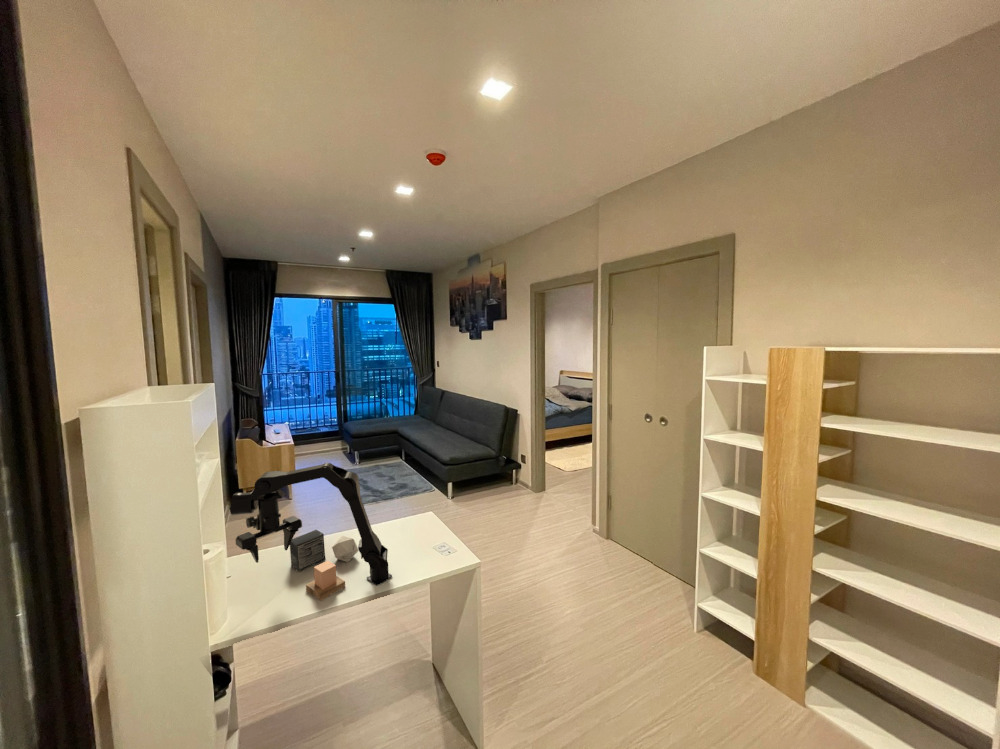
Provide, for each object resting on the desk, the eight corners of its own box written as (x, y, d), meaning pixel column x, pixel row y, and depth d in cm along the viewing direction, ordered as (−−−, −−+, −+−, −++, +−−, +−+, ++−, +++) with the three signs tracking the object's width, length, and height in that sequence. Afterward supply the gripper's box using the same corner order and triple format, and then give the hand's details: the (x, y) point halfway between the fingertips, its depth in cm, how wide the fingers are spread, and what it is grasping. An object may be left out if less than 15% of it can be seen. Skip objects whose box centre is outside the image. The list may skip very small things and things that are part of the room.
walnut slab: (345, 586, 138) (345, 581, 138) (320, 600, 131) (320, 594, 131) (330, 577, 144) (330, 571, 143) (306, 590, 137) (305, 584, 136)
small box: (317, 553, 159) (316, 528, 158) (326, 559, 155) (324, 533, 154) (290, 565, 151) (288, 539, 150) (298, 572, 147) (296, 545, 146)
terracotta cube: (336, 581, 138) (335, 565, 137) (322, 589, 134) (321, 572, 133) (328, 576, 141) (327, 560, 140) (314, 583, 137) (313, 567, 136)
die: (335, 569, 149) (351, 548, 149) (323, 551, 154) (338, 531, 153) (351, 566, 157) (366, 546, 157) (339, 549, 161) (354, 529, 161)
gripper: (285, 495, 145) (288, 537, 146) (226, 514, 130) (230, 560, 131) (301, 503, 138) (304, 546, 140) (241, 524, 123) (244, 572, 125)
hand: (271, 555), depth 134 cm, fingers open, 9 cm apart
